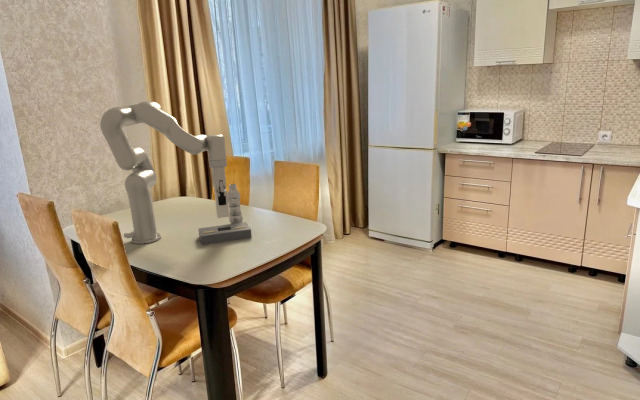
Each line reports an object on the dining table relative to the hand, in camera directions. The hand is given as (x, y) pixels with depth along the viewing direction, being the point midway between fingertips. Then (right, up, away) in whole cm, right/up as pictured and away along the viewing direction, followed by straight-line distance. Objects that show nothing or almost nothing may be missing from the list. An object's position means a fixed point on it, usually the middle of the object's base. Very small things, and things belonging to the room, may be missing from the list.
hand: (221, 203), depth 198 cm
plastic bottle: (+2, -11, +23) cm, 26 cm away
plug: (0, -6, +2) cm, 6 cm away
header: (+1, -15, +4) cm, 16 cm away
